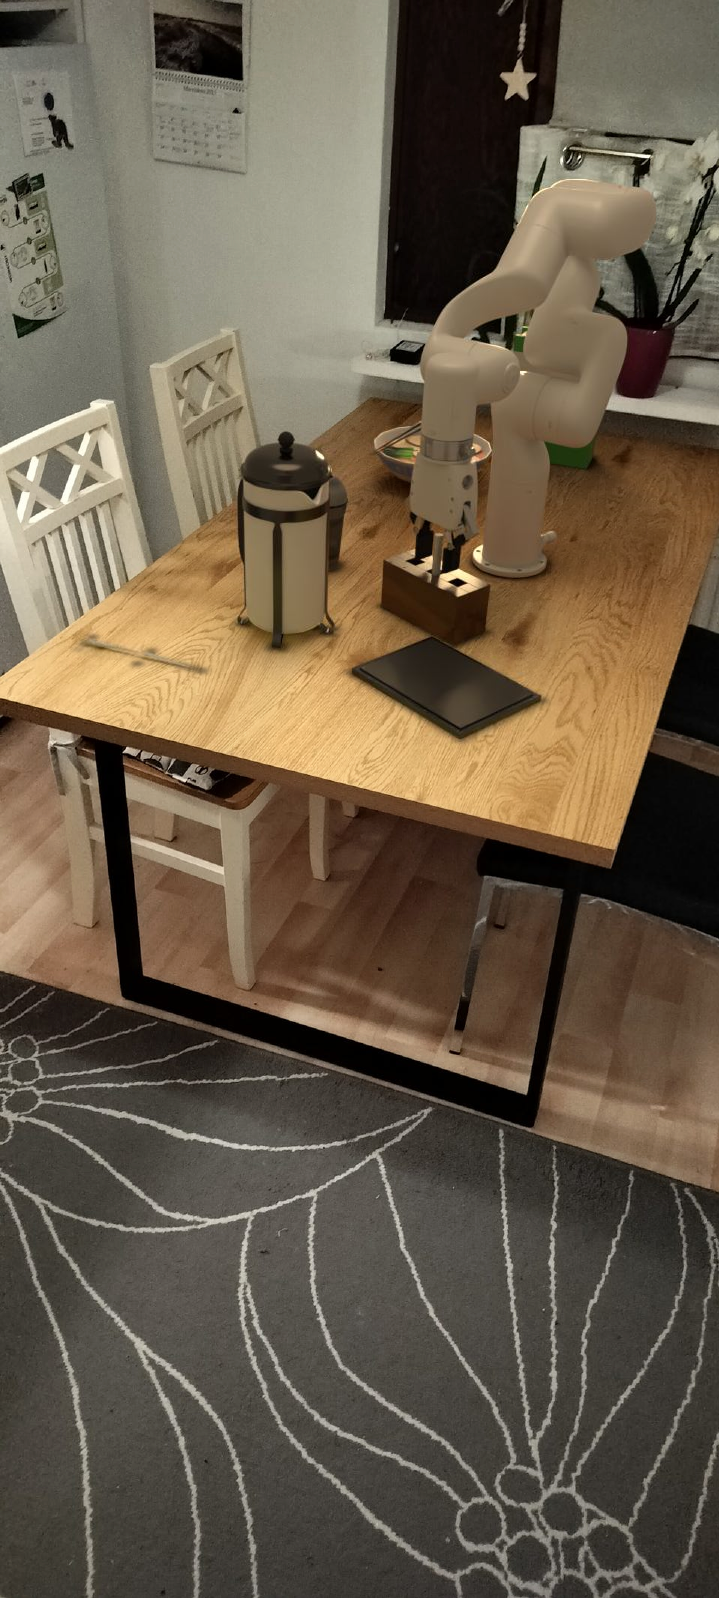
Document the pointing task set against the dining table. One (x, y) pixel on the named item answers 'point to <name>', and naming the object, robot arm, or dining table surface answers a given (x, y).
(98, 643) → the stylus
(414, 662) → the tablet
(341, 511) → the beverage cup
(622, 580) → the dining table surface
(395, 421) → the dining table surface
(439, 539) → the rod
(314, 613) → the coffee press
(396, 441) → the ramen bowl
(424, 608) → the pen block
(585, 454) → the hardback book
